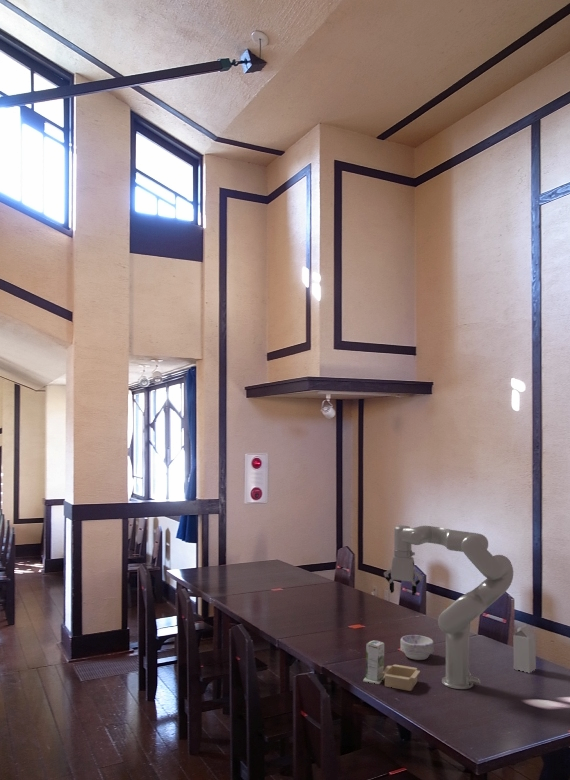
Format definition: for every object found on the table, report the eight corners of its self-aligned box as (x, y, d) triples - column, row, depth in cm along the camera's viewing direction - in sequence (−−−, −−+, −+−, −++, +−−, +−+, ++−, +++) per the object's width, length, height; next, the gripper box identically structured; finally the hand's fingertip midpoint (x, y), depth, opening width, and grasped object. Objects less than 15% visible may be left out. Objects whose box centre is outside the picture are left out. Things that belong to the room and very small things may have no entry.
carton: (421, 681, 266) (421, 668, 266) (413, 693, 252) (413, 680, 253) (389, 675, 272) (389, 663, 272) (379, 687, 258) (379, 674, 259)
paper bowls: (420, 664, 285) (420, 646, 286) (393, 656, 297) (393, 638, 298) (440, 657, 295) (440, 640, 296) (413, 649, 307) (413, 632, 308)
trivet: (385, 677, 269) (385, 675, 269) (379, 684, 261) (379, 682, 261) (369, 674, 272) (369, 673, 272) (363, 681, 264) (363, 680, 264)
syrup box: (372, 674, 271) (372, 639, 272) (384, 677, 267) (384, 642, 268) (365, 678, 266) (365, 642, 267) (377, 681, 263) (378, 645, 264)
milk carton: (536, 669, 281) (535, 625, 283) (529, 673, 276) (528, 629, 278) (520, 665, 286) (519, 622, 288) (513, 669, 281) (512, 625, 282)
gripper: (424, 554, 281) (424, 594, 279) (386, 551, 288) (386, 589, 287) (420, 557, 274) (420, 597, 273) (381, 553, 281) (381, 593, 280)
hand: (402, 593), depth 280 cm, fingers open, 9 cm apart
